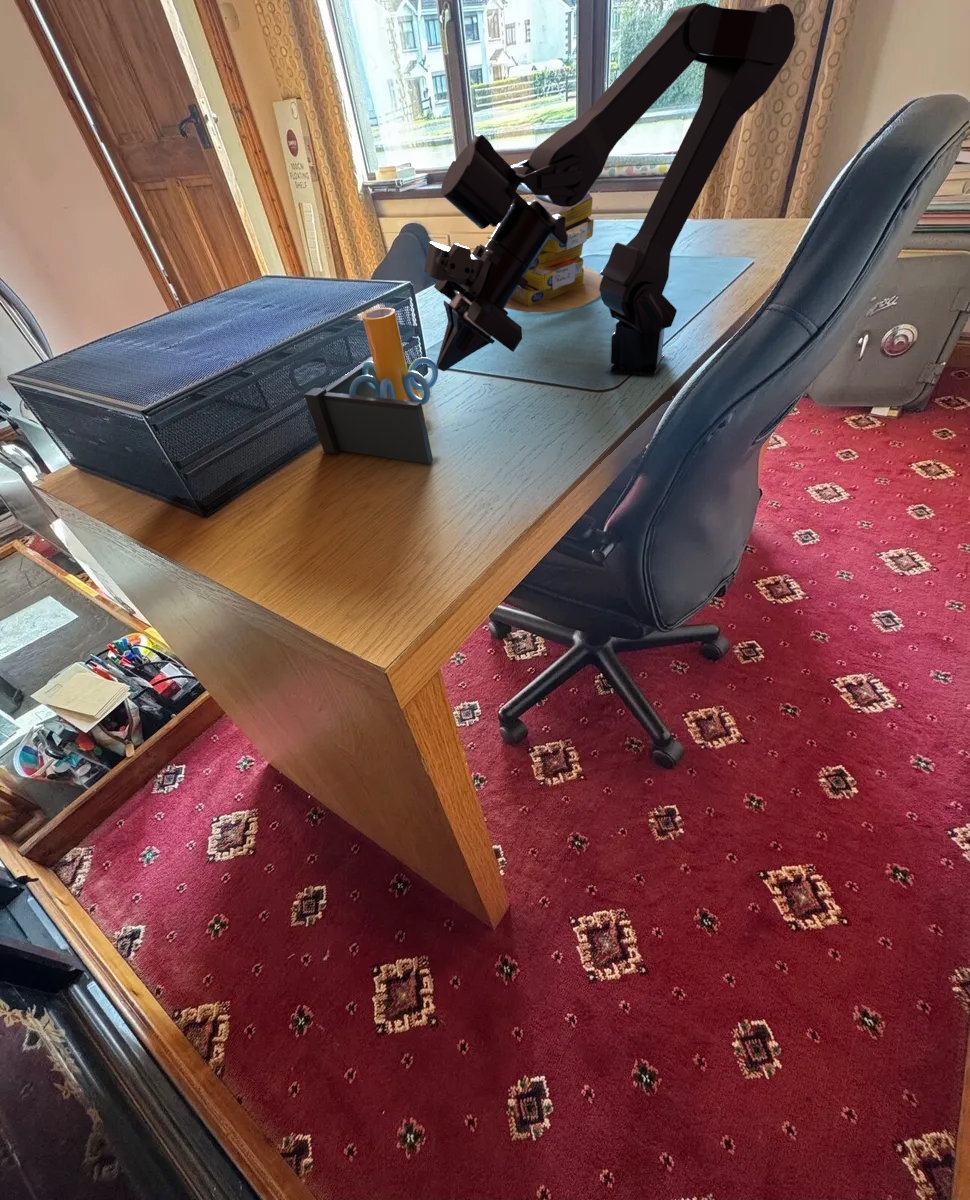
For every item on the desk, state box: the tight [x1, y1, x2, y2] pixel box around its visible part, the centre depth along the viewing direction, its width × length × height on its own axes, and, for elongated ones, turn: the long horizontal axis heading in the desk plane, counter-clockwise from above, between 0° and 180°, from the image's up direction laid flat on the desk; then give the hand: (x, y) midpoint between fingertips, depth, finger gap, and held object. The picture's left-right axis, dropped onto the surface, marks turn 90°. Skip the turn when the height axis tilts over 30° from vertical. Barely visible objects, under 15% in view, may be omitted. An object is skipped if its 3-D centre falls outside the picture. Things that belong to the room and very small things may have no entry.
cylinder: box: [349, 307, 439, 424], centre depth 72 cm, size 12×10×15 cm
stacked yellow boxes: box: [486, 190, 603, 313], centre depth 108 cm, size 25×25×17 cm
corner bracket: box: [303, 355, 434, 465], centre depth 75 cm, size 16×17×8 cm
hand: (439, 368), depth 74 cm, fingers closed, pressing on cylinder
